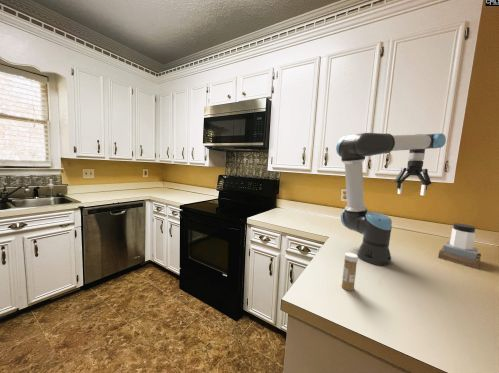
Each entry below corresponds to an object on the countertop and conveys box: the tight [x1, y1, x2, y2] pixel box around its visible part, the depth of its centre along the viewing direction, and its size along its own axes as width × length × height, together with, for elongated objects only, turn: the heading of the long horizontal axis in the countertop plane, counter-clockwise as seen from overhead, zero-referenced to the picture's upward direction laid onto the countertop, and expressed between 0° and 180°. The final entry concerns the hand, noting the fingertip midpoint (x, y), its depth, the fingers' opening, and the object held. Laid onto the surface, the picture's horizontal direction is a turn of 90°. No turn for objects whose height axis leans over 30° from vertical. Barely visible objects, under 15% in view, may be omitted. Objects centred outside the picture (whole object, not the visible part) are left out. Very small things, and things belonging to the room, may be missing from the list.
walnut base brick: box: [437, 244, 482, 270], centre depth 115 cm, size 15×15×4 cm
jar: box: [449, 223, 476, 250], centre depth 114 cm, size 9×8×12 cm
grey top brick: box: [443, 241, 479, 260], centre depth 114 cm, size 12×12×4 cm
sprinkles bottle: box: [341, 252, 359, 292], centre depth 81 cm, size 5×5×13 cm
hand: (410, 194), depth 132 cm, fingers open, 13 cm apart
